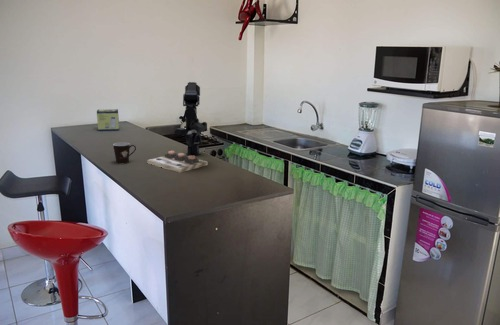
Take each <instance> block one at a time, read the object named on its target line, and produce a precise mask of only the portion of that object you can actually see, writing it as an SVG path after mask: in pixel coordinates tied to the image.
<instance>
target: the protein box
mask: <svg viewBox="0 0 500 325" xmlns="http://www.w3.org/2000/svg"><path fill="white" fill-rule="evenodd" d="M96 119H97V122H96V123H97V132H119V131H120V120H119V109H97V110H96Z"/></svg>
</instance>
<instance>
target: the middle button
mask: <svg viewBox="0 0 500 325" xmlns="http://www.w3.org/2000/svg"><path fill="white" fill-rule="evenodd" d="M177 154H178V157H179V158H183V157H185V156H186V153H185V152H178V153H177Z"/></svg>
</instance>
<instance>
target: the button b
mask: <svg viewBox="0 0 500 325" xmlns="http://www.w3.org/2000/svg"><path fill="white" fill-rule="evenodd" d="M187 156H188V160H191V161H192V160H195V158H196V155H195V156H194V155H187Z"/></svg>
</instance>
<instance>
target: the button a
mask: <svg viewBox="0 0 500 325" xmlns="http://www.w3.org/2000/svg"><path fill="white" fill-rule="evenodd" d="M175 153H176V152H175V150H168V151H167V154H168V155H175Z"/></svg>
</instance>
